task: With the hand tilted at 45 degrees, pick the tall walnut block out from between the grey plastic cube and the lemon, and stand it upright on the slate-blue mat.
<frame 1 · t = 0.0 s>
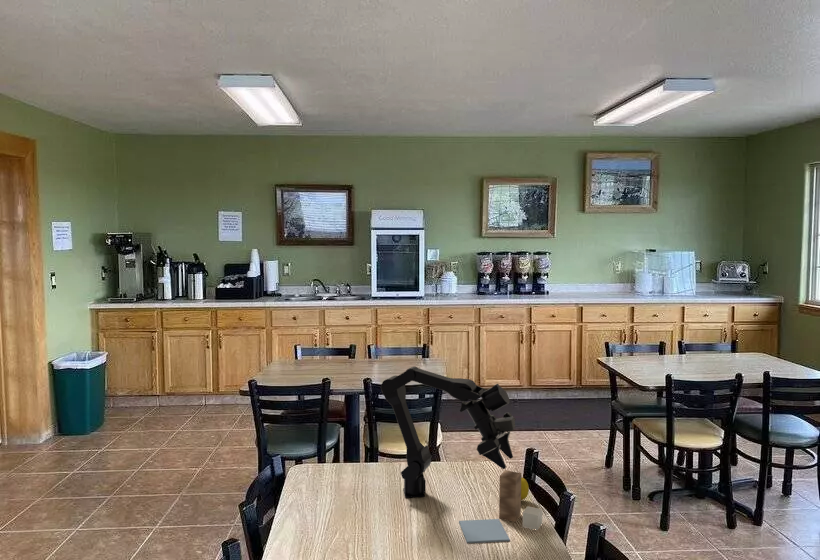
hand: (508, 463, 176), 15 cm above the table, tool tilted 35°, fingers open, 9 cm apart
slate mat: (483, 531, 164), on the table
grey cube: (532, 525, 168), on the table
tall block: (510, 516, 173), on the table
lemon: (519, 501, 184), on the table
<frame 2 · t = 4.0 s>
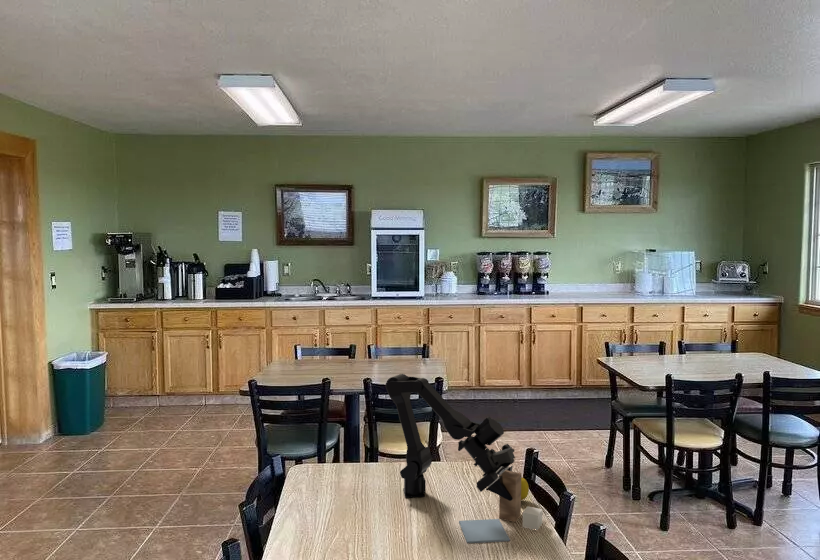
hand: (514, 496, 172), 7 cm above the table, tool tilted 45°, fingers closed on tall block, 5 cm apart
tall block: (510, 516, 173), on the table, touching gripper
everything else where it was.
when the fingers open (8 cm above the table, at t = 8.3 s): tall block drops 1 cm, resting on slate mat.
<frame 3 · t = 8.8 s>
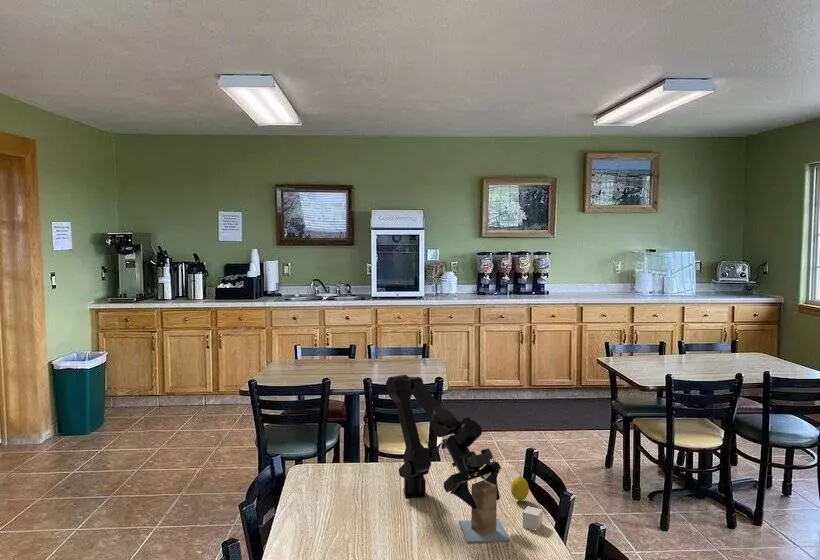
hand: (487, 503, 162), 9 cm above the table, tool tilted 45°, fingers open, 9 cm apart
tall block: (483, 529, 164), resting on slate mat
everything else where it was.
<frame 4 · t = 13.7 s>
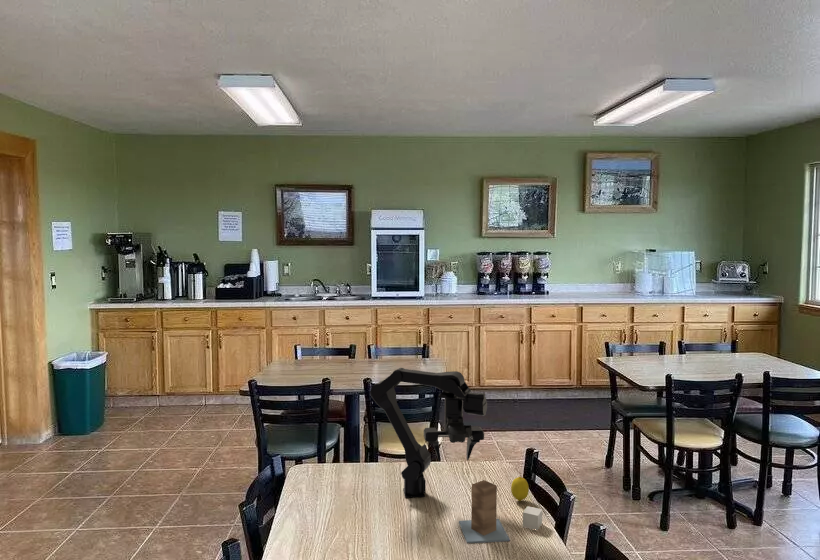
hand: (453, 460, 184), 13 cm above the table, tool pointing down, fingers open, 9 cm apart
nothing on the table moved.
at the end: tall block inside the target area on the slate mat (0.1 cm from its centre), point 0.5 cm above the slate mat's base; tall block tilted 0°; the gripper is holding nothing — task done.
